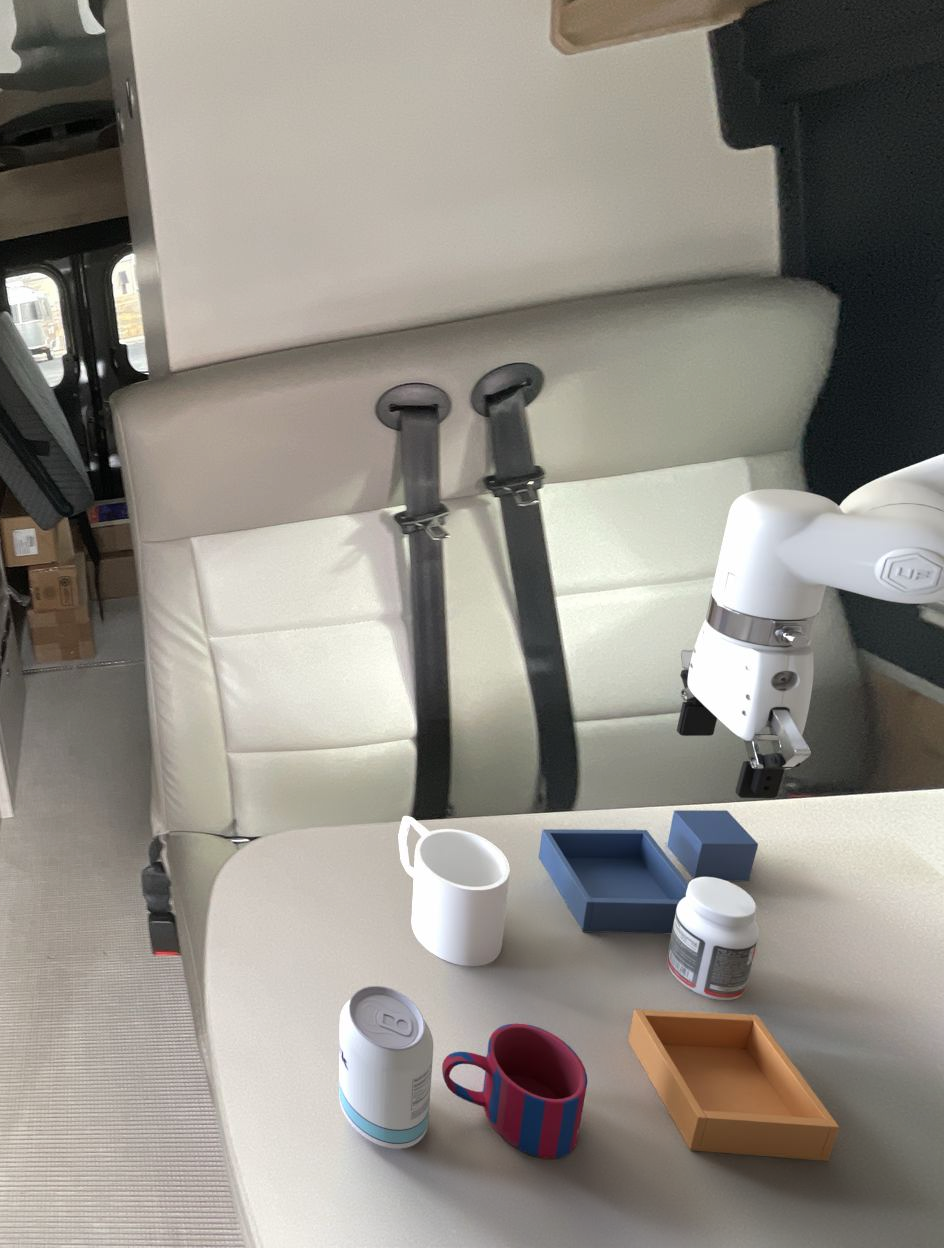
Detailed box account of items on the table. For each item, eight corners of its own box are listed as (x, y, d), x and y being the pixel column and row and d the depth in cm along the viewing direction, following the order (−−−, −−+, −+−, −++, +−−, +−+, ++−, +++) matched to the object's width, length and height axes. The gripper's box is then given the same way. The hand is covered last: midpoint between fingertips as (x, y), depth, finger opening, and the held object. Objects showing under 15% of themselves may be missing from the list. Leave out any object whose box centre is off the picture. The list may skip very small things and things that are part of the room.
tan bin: (748, 1046, 72) (757, 1014, 70) (828, 1161, 63) (840, 1127, 62) (627, 1040, 74) (633, 1008, 72) (690, 1150, 65) (698, 1117, 64)
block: (719, 846, 91) (727, 810, 89) (749, 881, 86) (758, 844, 85) (667, 845, 92) (673, 810, 90) (694, 880, 87) (702, 843, 86)
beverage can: (345, 1062, 76) (346, 967, 71) (430, 1093, 72) (437, 996, 68) (332, 1134, 70) (333, 1036, 66) (424, 1172, 67) (430, 1071, 62)
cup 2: (586, 1171, 65) (597, 1114, 63) (443, 1133, 69) (447, 1078, 67) (567, 1089, 71) (576, 1034, 68) (435, 1058, 75) (439, 1005, 72)
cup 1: (426, 867, 94) (430, 797, 91) (521, 947, 83) (530, 871, 80) (367, 893, 92) (369, 822, 89) (457, 978, 81) (463, 902, 78)
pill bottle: (747, 969, 78) (768, 890, 74) (742, 1014, 74) (764, 933, 71) (669, 940, 82) (685, 863, 78) (661, 981, 78) (677, 902, 74)
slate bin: (641, 858, 91) (646, 829, 90) (698, 934, 82) (704, 904, 80) (538, 856, 93) (541, 829, 92) (582, 931, 84) (586, 902, 83)
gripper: (880, 666, 70) (830, 824, 76) (745, 575, 85) (712, 713, 92) (776, 668, 71) (735, 823, 78) (662, 579, 87) (636, 713, 93)
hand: (723, 763), depth 85 cm, fingers open, 9 cm apart
